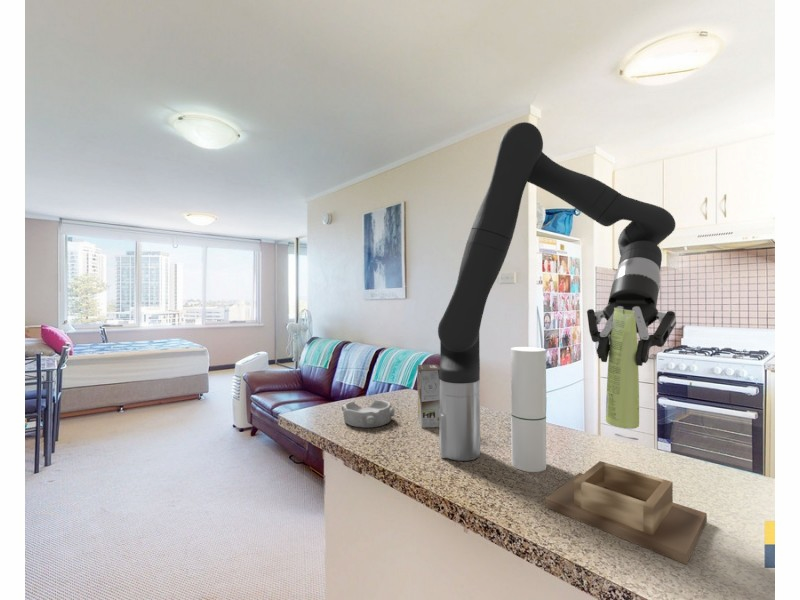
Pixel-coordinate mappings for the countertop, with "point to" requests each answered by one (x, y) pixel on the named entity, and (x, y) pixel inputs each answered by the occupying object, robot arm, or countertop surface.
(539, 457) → the cylindrical container
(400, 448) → the countertop surface
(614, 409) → the tube
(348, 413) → the dish
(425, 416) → the coffee box
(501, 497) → the countertop surface
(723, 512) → the countertop surface
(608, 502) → the wooden box on board
